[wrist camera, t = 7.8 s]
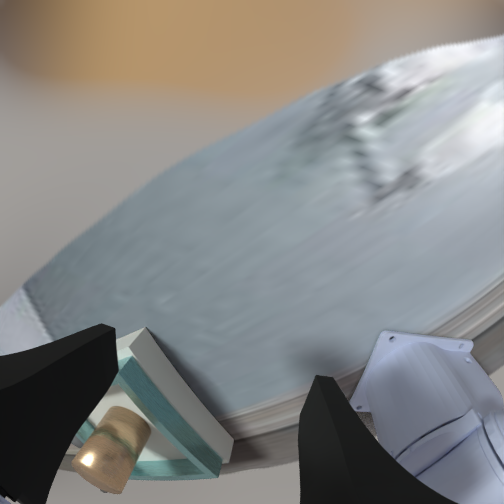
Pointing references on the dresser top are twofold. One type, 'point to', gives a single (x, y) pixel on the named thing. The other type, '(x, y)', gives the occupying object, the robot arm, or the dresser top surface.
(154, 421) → the frame
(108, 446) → the bronze metal cylinder
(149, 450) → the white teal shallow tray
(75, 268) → the dresser top surface
